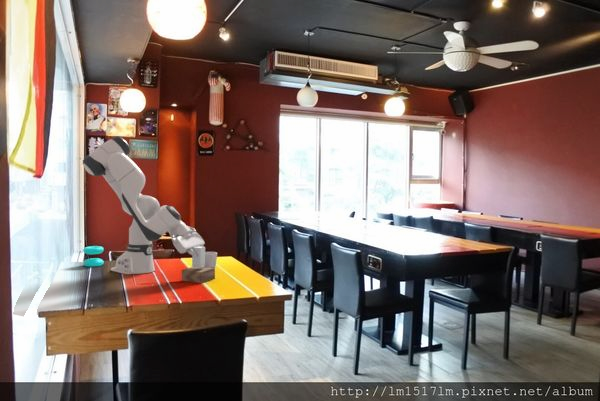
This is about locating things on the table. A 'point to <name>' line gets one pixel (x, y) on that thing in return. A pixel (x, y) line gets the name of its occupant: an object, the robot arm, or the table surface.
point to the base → (198, 274)
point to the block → (199, 257)
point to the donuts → (93, 261)
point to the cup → (210, 259)
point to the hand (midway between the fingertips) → (199, 255)
